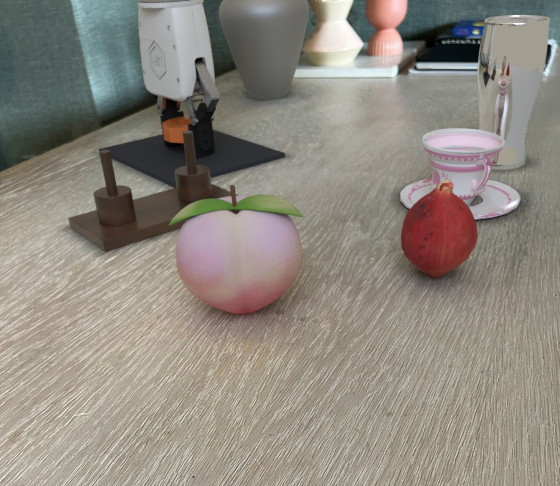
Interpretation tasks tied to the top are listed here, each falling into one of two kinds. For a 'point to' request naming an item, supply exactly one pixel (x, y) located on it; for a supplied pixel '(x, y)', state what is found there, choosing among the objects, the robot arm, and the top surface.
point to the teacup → (464, 171)
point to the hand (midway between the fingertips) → (189, 148)
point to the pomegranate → (438, 231)
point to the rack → (143, 204)
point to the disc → (175, 129)
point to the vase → (265, 42)
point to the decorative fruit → (238, 250)
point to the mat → (165, 160)
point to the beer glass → (510, 80)
